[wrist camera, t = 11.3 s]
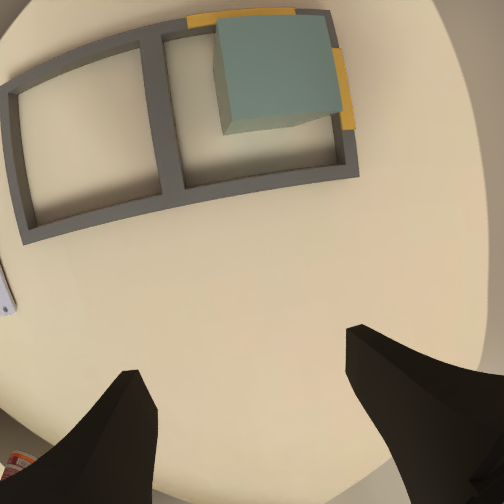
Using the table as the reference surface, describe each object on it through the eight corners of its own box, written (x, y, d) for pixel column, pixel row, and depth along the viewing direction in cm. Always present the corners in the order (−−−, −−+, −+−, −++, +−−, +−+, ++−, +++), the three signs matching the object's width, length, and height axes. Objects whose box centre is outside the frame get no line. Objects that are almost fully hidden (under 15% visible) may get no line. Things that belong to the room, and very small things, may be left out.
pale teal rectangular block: (223, 135, 16) (232, 120, 9) (211, 62, 15) (214, 8, 8) (292, 126, 16) (343, 110, 10) (280, 55, 15) (321, 5, 8)
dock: (32, 240, 16) (21, 246, 15) (8, 89, 13) (-3, 86, 11) (350, 175, 18) (361, 177, 16) (323, 17, 14) (331, 9, 13)
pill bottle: (5, 449, 22) (-19, 511, 11) (26, 446, 22) (0, 517, 11) (39, 476, 24) (21, 537, 13) (62, 475, 24) (45, 544, 13)
